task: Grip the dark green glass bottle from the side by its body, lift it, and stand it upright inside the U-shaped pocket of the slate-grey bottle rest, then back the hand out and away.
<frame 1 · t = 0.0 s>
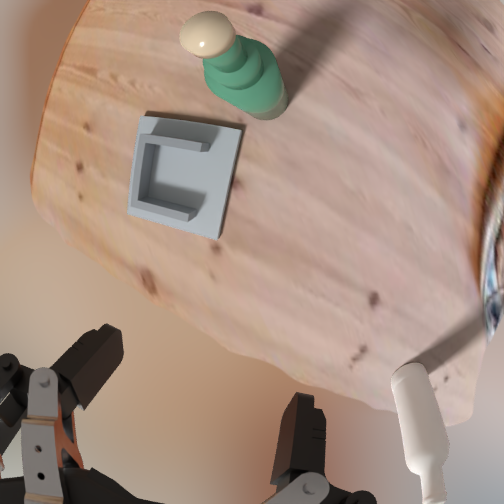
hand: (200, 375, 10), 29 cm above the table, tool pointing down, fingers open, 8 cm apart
bottle rest: (178, 174, 38), on the table
bottle 2: (407, 374, 44), on the table
bottle: (265, 99, 32), on the table
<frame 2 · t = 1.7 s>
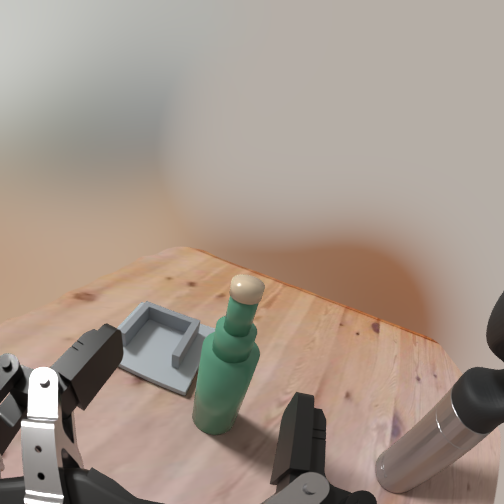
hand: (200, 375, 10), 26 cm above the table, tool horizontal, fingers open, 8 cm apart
bottle rest: (158, 344, 43), on the table
bottle: (213, 417, 33), on the table
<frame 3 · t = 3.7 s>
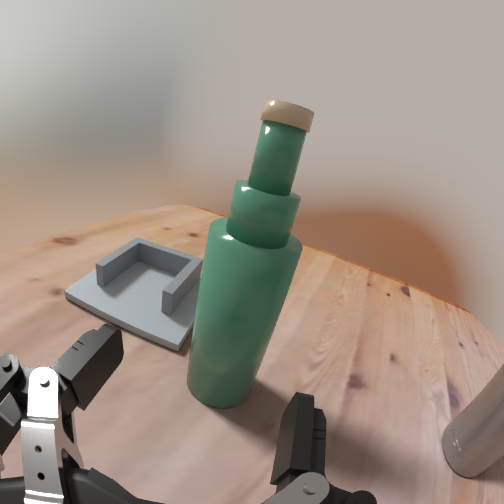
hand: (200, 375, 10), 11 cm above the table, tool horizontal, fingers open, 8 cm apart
bottle rest: (147, 289, 33), on the table
bottle: (218, 382, 23), on the table
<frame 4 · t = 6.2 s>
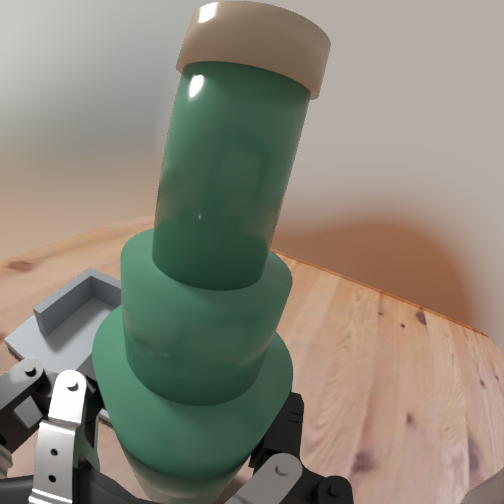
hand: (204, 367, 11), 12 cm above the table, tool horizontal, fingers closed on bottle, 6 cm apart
bottle rest: (100, 338, 24), on the table
bottle: (180, 479, 13), on the table, touching gripper
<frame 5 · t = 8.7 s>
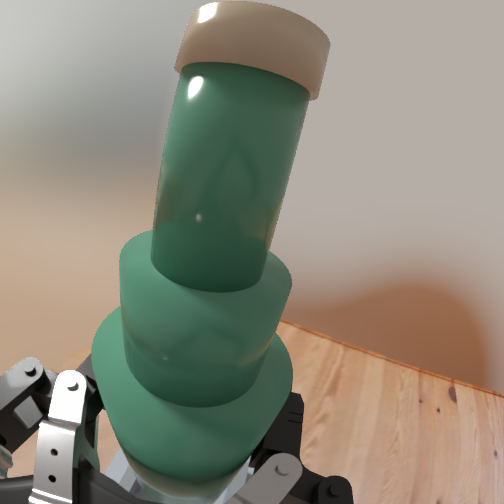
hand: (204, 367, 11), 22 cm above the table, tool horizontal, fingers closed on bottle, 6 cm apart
bottle rest: (181, 495, 18), on the table
bottle: (180, 479, 13), point 10 cm above the table, touching gripper
when the fingers open (14 cm above the table, at t = 11.2 s): bottle drops 1 cm, resting on bottle rest.
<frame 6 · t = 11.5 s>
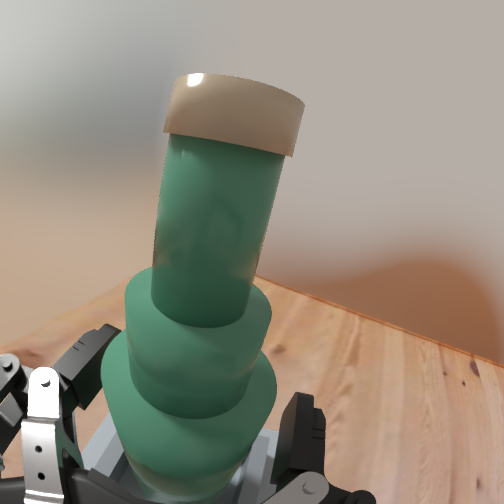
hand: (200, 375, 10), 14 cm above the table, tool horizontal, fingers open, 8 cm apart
bottle rest: (179, 485, 14), on the table
bottle: (180, 485, 14), point 1 cm above the table, touching bottle rest
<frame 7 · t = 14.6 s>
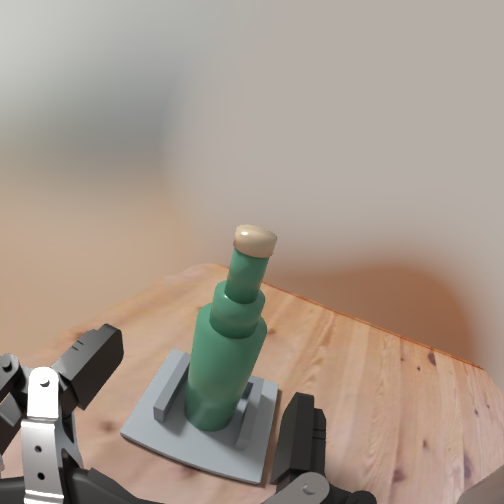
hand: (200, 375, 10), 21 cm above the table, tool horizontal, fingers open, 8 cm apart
bottle rest: (207, 413, 29), on the table
bottle: (208, 411, 28), point 1 cm above the table, touching bottle rest
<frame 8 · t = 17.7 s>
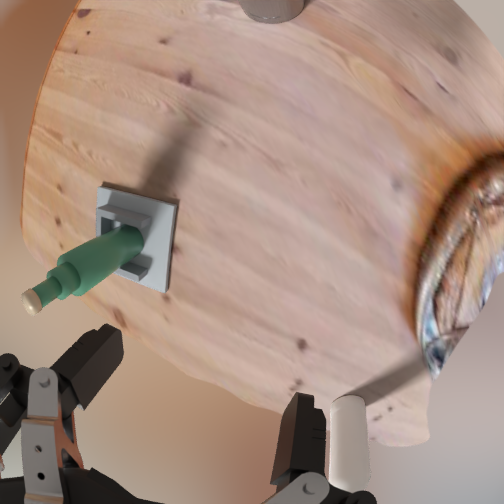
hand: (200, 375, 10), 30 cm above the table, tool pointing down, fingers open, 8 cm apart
bottle rest: (132, 238, 44), on the table
bottle 2: (347, 404, 50), on the table
bottle: (129, 240, 43), point 1 cm above the table, touching bottle rest
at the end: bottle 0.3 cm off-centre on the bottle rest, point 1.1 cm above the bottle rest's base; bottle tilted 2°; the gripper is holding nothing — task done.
